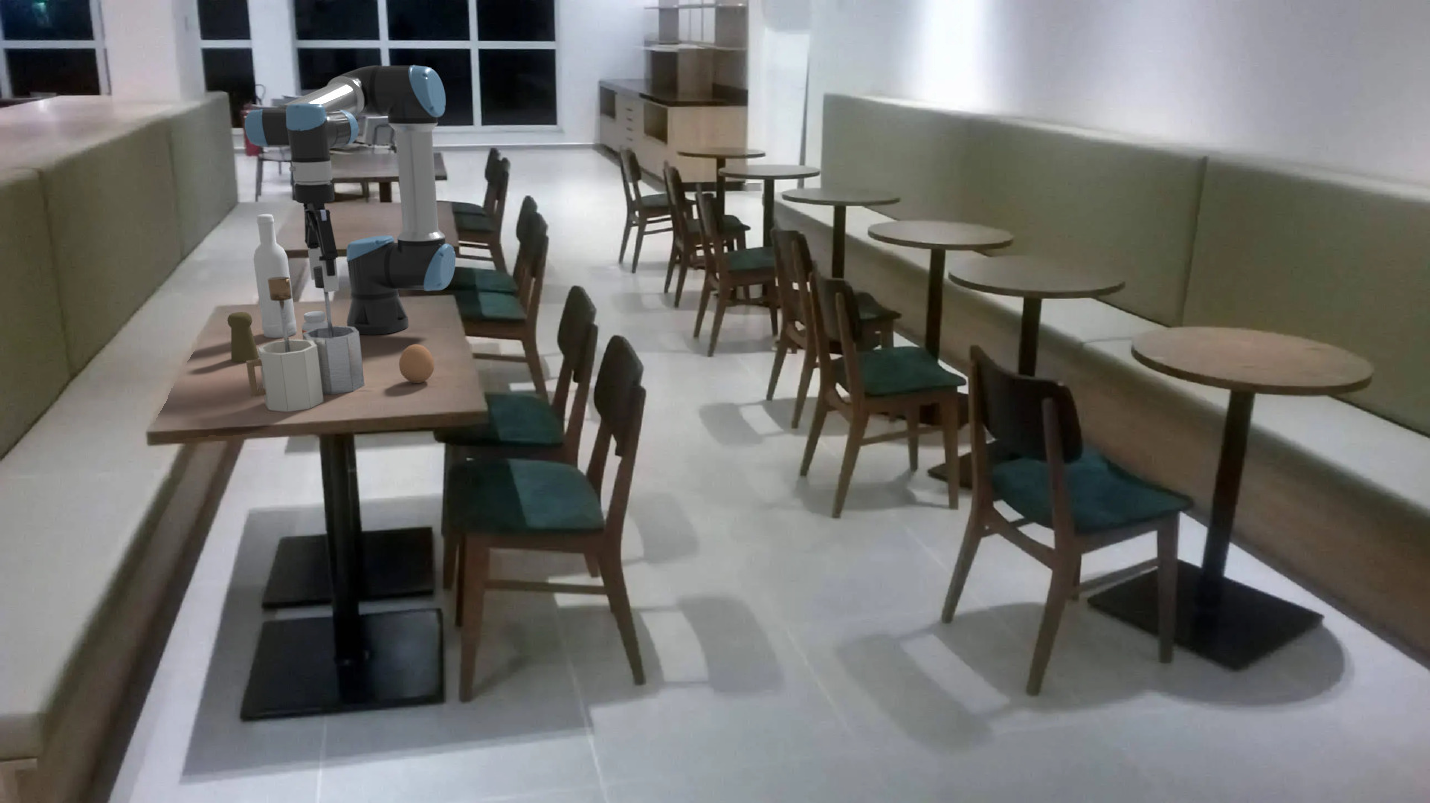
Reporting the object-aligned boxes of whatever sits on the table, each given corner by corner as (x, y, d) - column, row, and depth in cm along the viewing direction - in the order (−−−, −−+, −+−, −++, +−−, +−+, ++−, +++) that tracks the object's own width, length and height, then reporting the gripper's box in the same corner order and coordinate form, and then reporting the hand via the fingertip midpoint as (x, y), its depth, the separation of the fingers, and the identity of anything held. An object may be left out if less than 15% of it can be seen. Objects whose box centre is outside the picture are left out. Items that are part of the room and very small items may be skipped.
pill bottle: (301, 363, 253) (296, 316, 250) (310, 355, 259) (304, 310, 256) (329, 363, 254) (323, 316, 250) (337, 355, 259) (331, 310, 256)
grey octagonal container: (356, 375, 244) (350, 323, 240) (368, 388, 235) (362, 334, 231) (293, 385, 238) (286, 331, 234) (303, 398, 229) (296, 343, 225)
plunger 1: (303, 358, 228) (293, 273, 223) (310, 366, 223) (299, 280, 217) (269, 363, 225) (257, 277, 219) (275, 371, 220) (263, 284, 214)
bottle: (300, 335, 276) (285, 215, 267) (267, 339, 272) (251, 218, 263) (292, 328, 283) (277, 211, 273) (260, 332, 278) (244, 214, 269)
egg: (406, 377, 243) (403, 340, 241) (439, 377, 243) (436, 340, 240) (396, 387, 236) (392, 349, 234) (430, 387, 236) (427, 349, 233)
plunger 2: (345, 344, 239) (336, 262, 233) (352, 351, 233) (343, 268, 228) (313, 348, 236) (303, 266, 230) (319, 356, 230) (309, 272, 224)
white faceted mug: (316, 391, 234) (309, 337, 230) (326, 405, 225) (320, 349, 221) (249, 401, 227) (241, 345, 223) (257, 416, 218) (249, 358, 215)
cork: (249, 363, 253) (242, 316, 250) (225, 361, 254) (218, 315, 251) (264, 356, 259) (258, 310, 255) (241, 354, 260) (235, 309, 257)
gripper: (283, 176, 232) (295, 275, 238) (306, 190, 211) (318, 298, 218) (319, 174, 235) (330, 272, 242) (346, 188, 215) (357, 294, 221)
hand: (325, 285), depth 230 cm, fingers open, 13 cm apart
